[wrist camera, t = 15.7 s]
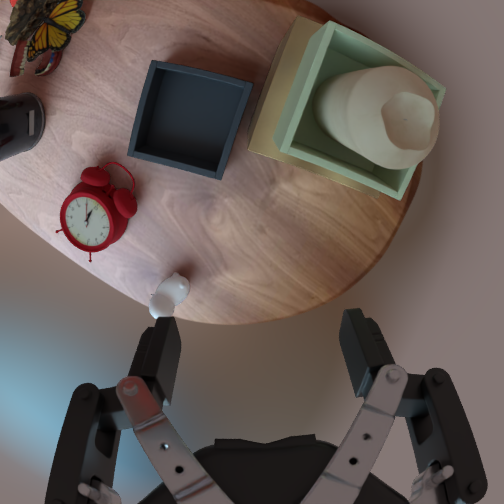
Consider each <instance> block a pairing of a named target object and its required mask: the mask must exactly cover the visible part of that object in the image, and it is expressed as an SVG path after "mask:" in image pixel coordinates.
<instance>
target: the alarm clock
mask: <svg viewBox="0 0 504 504" xmlns="http://www.w3.org/2000/svg"><path fill="white" fill-rule="evenodd" d="M109 164H116V165H118V166H120V167H122V168H123V169H124V170H125V171H126V172H127V173H128V174H129V175H130V177H131V178H132V181H133V187H132V190H131V192H130V191H129V190H128V189H125V188H120V189H118V190H117V189H116V188H115V186H114V185H113V184H112V185H111V184H109V182H110V174H109V173H108V172H107V171H106V170H104V168H105V167H106V166H107V165H109ZM81 180H82V181H83V182H81V183H79V184H78V185H77V186H76V187H75V188H74V189H73V190H72V192H71V193H70V195H69V196H68V197H67V198H66V199H65V201H64V202H63V204H62V207H61V210H60V223H61V227H62V229H61V230H56V233H58V232H59V231H63V232H64V234H65V236H66V237H67V239H68V240H69V241H70V242H71V243H72V244H73V245H74V246H75V247H77V248H79V249H80V250H83V251H86V252H89V255H90V260H89V262H91V261H92V260H91V252H99V251H101V250H104V249H105V248H107V247H108V246H109V245H110V244H113V243H115V242H116V241H117V240H119V239H120V238H121V236H122V235H123V234H124V232H125V230H126V227H127V223H128V218H131V217H132V216H134V215H135V213H136V212H137V202H136V199H135V197H134V195H133V194H132V192H133V190H134V187H135V182H134V178H133V176H132V175H131V173H130V172H129V171H128V170H127V169H126V168H125V167H124V166H122V165H121V164H119V163H117V162H109V163H107V164H106V165H105V166H104V167H103V168H99V166H97V167H88V168H86V169H84V170H83V172H82V174H81Z"/></svg>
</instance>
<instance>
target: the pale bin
mask: <svg viewBox="0 0 504 504" xmlns="http://www.w3.org/2000/svg"><path fill="white" fill-rule="evenodd" d="M382 66H398V67H402V68H405V69H407V70H409V71H411V72H413V73H415V74H416V75H417V76H419V77H420V78H421V79H422V80H423V81H424V82H425V83H426V84H427V86H428V87H429V88H430V90H431V92H432V93H433V95H434V98H435V100H436V103H437V106H438V110H439V108H440V105H441V102H442V99H443V97H444V94H445V91H446V88H445V87H444V86H442V85H441V84H440V83H438V82H437V81H435V80H434V79H433V78H432V77H430V76H429V75H427V74H426V73H424V72H423V71H421V70H420V69H419V68H417V67H416V66H414V65H412V64H411V63H409V62H408V61H406V60H404V59H403V58H401V57H400V56H398V55H396V54H395V53H393V52H391V51H390V50H388V49H386V48H385V47H383V46H381V45H379V44H377V43H375V42H374V41H372V40H370V39H368V38H366V37H364V36H362V35H360V34H358V33H356V32H354V31H352V30H350V29H348V28H346V27H343V26H341V25H339V24H337V23H335V22H332V21H330V20H329V21H328V22H327V23H326V24H325V25H324V26H322V27H321V28H320V29H319V30H318V31H317V32H316V33H315V34H313V35H312V36H311V37H310V39H309V42H308V45H307V47H306V50H305V52H304V55H303V57H302V60H301V63H300V65H299V68H298V71H297V73H296V76H295V78H294V81H293V84H292V86H291V89H290V92H289V94H288V97H287V100H286V102H285V105H284V108H283V110H282V113H281V116H280V119H279V121H278V124H277V127H276V129H275V132H274V135H273V138H272V139H273V141H274V142H275V144H276V146H277V147H278V149H279V151H280V152H283V153H286V154H289V155H292V156H294V157H297V158H300V159H303V160H305V161H308V162H311V163H313V164H316V165H319V166H321V167H324V168H326V169H329V170H331V171H334V172H336V173H339V174H341V175H344V176H346V177H348V178H351V179H353V180H356V181H358V182H360V183H363V184H365V185H367V186H369V187H372V188H374V189H376V190H378V191H380V192H383V193H385V194H387V195H389V196H391V197H393V198H396V199H398V200H401V198H402V196H403V194H404V192H405V190H406V188H407V186H408V184H409V181H410V179H411V177H412V175H413V173H414V170H415V168H416V166H417V164H416V165H414V166H412V167H409V168H405V169H388V168H385V167H382V166H379V165H377V164H375V163H374V162H372V161H370V160H369V159H367V158H365V157H363V156H362V155H360V154H358V153H356V152H355V151H353V150H351V149H349V148H348V147H346V146H344V145H342V144H340V143H338V142H337V141H335V140H333V139H331V138H330V137H328V136H327V135H326V134H325V133H324V132H322V130H321V129H320V128H319V126H318V125H317V123H316V121H315V119H314V116H313V111H312V101H313V97H314V94H315V92H316V90H317V88H318V87H319V86H320V84H321V83H322V82H324V81H325V80H326V79H328V78H330V77H332V76H335V75H338V74H343V73H348V72H353V71H358V70H363V69H369V68H375V67H382Z"/></svg>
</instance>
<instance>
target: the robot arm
mask: <svg viewBox="0 0 504 504" xmlns="http://www.w3.org/2000/svg"><path fill="white" fill-rule="evenodd" d="M44 125H45V112H44V108H43V105H42V102H41V101H40V99H39V98H38V97H37V96H36V95H35V94H33V93H21V94H17V95H10V96H4V97H0V161H3V160H5V159H7V158H9V157H12V156H14V155H16V154H19V153H21V152H25V151H28V150H30V149H32V148H33V147H34V146H35V145H36V144H37V143H38V142H39V140H40V138H41V136H42V133H43V130H44ZM339 341H340V346H341V349H342V352H343V355H344V358H345V362H346V365H347V369H348V372H349V375H350V379H351V382H352V386H353V389H354V393H355V396H356V398H357V397H364V403H363V405H362V407H361V408H360V410H359V412H358V414H357V416H356V418H355V420H354V421H353V423H352V425H351V427H350V429H349V430H348V432H347V434H346V436H345V437H344V439H343V441H342V443H341V444H340V446H339V447H337V446H336V445H334V444H331V443H329V442H325V441H321V440H316V438H315V434H310V435H302V436H291V437H288V438H284V439H281V440H278V441H274V442H271V443H266V444H263V443H257V442H252V441H247V440H242V439H215V444H214V445H210V446H207V447H204V448H202V449H200V450H198V451H196V452H194V453H193V454H192V452H191V451H190V450H189V448H188V447H187V446H186V444H185V443H184V441H183V440H182V439H181V437H180V436H179V435H178V433H177V432H176V430H175V429H174V427H173V426H172V424H171V423H170V421H169V420H168V418H167V417H166V415H165V414H164V413H163V411H162V407H163V405H171V398H172V393H173V388H174V383H175V378H176V373H177V368H178V363H179V358H180V353H181V339H180V335H179V331H178V328H177V325H176V321H175V318H174V317H158V318H157V320H156V324H155V327H148V328H147V329H146V330H145V332H144V333H143V334H142V336H141V338H140V341H139V345H138V347H137V351H136V353H135V356H134V359H133V362H132V365H131V368H130V371H129V374H128V376H127V377H125V378H123V379H122V380H120V382H119V383H118V384H117V386H115V387H111V388H105V389H98V388H97V387H96V386H95V385H94V384H92V383H84V384H81V385H79V386H78V387H77V388H76V389H75V391H74V392H73V395H72V398H71V401H70V404H69V407H68V410H67V413H66V417H65V420H64V423H63V426H62V430H61V433H60V437H59V440H58V444H57V448H56V452H55V456H54V460H53V464H52V468H51V473H50V477H49V482H48V487H47V492H46V497H45V504H121V498H120V496H119V494H118V493H117V492H116V491H115V490H113V489H112V486H113V479H114V471H115V465H116V458H117V452H118V446H119V441H120V435H121V430H122V429H129V428H133V431H134V433H135V435H136V437H137V439H138V440H139V443H140V444H141V446H142V448H143V450H144V451H145V453H146V454H147V456H148V458H149V460H150V461H151V463H152V465H153V466H154V468H155V469H156V471H157V472H158V474H159V476H160V477H161V479H162V480H163V482H162V483H161V484H160V485H159V486H157V487H156V488H155V489H154V490H153V491H152V492H151V493H149V494H148V495H147V496H146V497H145V498H144V499H143V500H141V501H140V502H139V503H138V504H474V503H476V502H478V501H479V500H481V499H482V498H483V497H484V495H485V493H486V491H487V486H488V483H487V479H486V475H485V471H484V468H483V464H482V461H481V458H480V454H479V451H478V448H477V445H476V442H475V439H474V436H473V433H472V430H471V427H470V425H469V422H468V419H467V417H466V414H465V411H464V409H463V406H462V404H461V401H460V399H459V396H458V394H457V391H456V389H455V387H454V385H453V382H452V380H451V378H450V376H449V374H448V373H447V372H446V371H444V370H443V369H441V368H432V369H429V370H428V371H427V372H426V374H425V375H417V374H409V373H407V372H406V371H405V370H404V369H403V368H402V367H400V366H399V365H396V364H395V361H394V359H393V357H392V355H391V352H390V350H389V348H388V346H387V343H386V341H385V340H384V337H383V335H382V334H381V330H380V328H379V326H378V324H377V323H376V322H375V321H374V320H373V319H372V318H365V317H364V315H363V313H362V310H361V309H360V308H356V309H345V310H344V312H343V317H342V322H341V327H340V332H339ZM395 416H399V417H405V419H406V423H407V426H408V430H409V433H410V438H411V442H412V446H413V450H414V453H415V458H416V462H417V467H418V471H419V475H418V476H417V477H416V478H415V479H414V481H413V483H412V494H411V497H410V499H409V500H407V499H406V498H405V497H404V496H403V495H401V494H400V493H398V492H397V491H395V490H394V489H393V488H391V487H390V486H388V485H387V484H385V483H384V482H383V481H382V480H380V479H379V478H378V477H376V476H375V475H373V474H372V473H371V472H370V471H371V469H372V467H373V465H374V463H375V461H376V459H377V457H378V455H379V453H380V451H381V449H382V447H383V445H384V442H385V440H386V438H387V436H388V434H389V431H390V429H391V427H392V425H393V422H394V420H395Z"/></svg>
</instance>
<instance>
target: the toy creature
mask: <svg viewBox="0 0 504 504" xmlns="http://www.w3.org/2000/svg"><path fill="white" fill-rule="evenodd" d="M189 290H190V284H189V281H188V280H187V279H186V278H185V277H183V276H180V275H179V274H178V273H173V275H172V277H169V278H167V279H166V280H164V281H163V282H162V283H161V284H160V285H159V286H158V288H157V290H156V292H155V294H151V295H152V298H151V300H150V303H149V309H150V314H152V316H153V317H154V318H155V319H157V318H158V317H171V315H172V314H173V312H174V308H175V306H177V305H178V304H180V303H181V302H182V301H183V300H184V299H185V298H186V297H187V295H188V293H189Z"/></svg>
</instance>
